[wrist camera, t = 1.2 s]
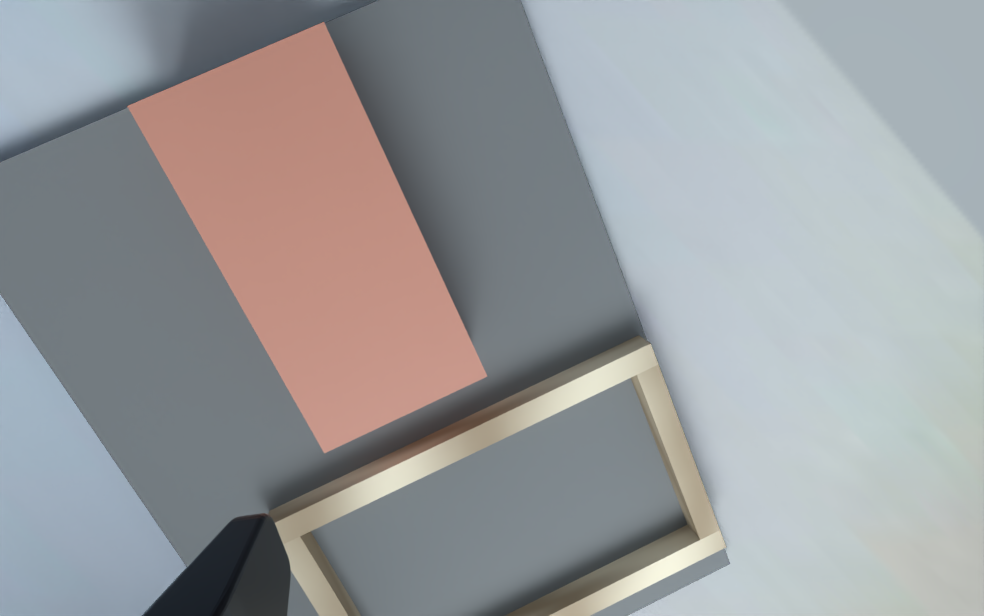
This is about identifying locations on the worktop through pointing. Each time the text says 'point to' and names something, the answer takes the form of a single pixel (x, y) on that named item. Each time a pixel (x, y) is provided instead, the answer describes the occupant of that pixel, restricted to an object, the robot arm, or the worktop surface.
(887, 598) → the worktop surface
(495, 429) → the slot frame
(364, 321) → the card deck
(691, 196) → the worktop surface
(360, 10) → the mat
